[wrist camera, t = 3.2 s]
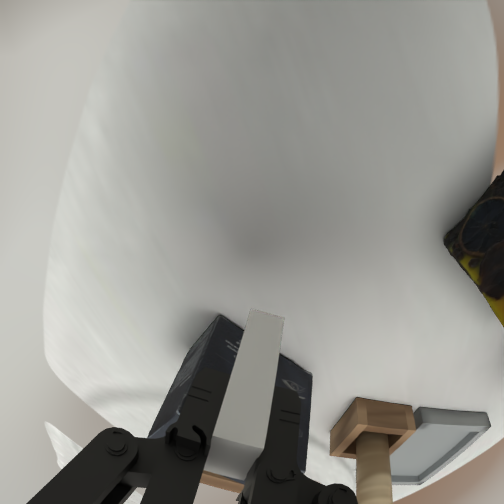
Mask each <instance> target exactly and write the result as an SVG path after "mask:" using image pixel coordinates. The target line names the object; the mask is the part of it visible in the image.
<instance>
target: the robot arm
mask: <svg viewBox="0 0 504 504" xmlns="http://www.w3.org/2000/svg"><path fill="white" fill-rule="evenodd" d="M283 324H284V318H283V317H280V316H276V315H272V314H269V313H265V312H262V311H258V310H255V309H251V310H250V313H249V317H248V320H247V324H246V327H245V330H244V334H243V337H242V340H241V344H240V347H239V350H238V354H237V357H236V360H235V364H234V367H233V370H232V374H231V375H230V374H227V373H223V372H220V371H217V370H214V369H210V368H207V367H205V368H204V369H203V370H202V371H200V372H199V373H198V374H197V375H196V377H195V379H194V382H193V384H192V387H191V389H190V391H189V394H188V396H187V398H186V401H185V403H184V406H183V408H182V411H181V413H180V415H179V418H178V420H177V422H175V423H173V424H171V425H170V426H169V427H168V429H167V430H166V433H165V436H164V437H161V438H157V439H149V438H138V437H134V436H133V435H132V434H131V433H130V432H129V431H126V430H124V429H122V428H116V427H112V428H107V429H105V430H103V431H102V432H100V433H99V434H98V435H97V436H96V437H95V438H94V439H93V440H92V441H91V442H90V443H89V444H88V445H87V446H86V447H85V448H84V449H83V450H82V451H81V452H80V453H79V454H78V455H76V456H75V457H74V458H73V459H72V460H71V461H70V462H69V463H68V464H67V465H66V466H65V467H64V468H63V469H62V470H61V471H60V472H59V473H58V474H57V475H56V476H55V477H54V478H53V479H52V480H51V481H50V482H49V483H48V484H46V486H44V487H43V488H42V489H41V490H40V491H39V492H38V493H37V494H36V495H35V496H34V497H33V498H32V499H31V500H30V501H29V502H28V503H27V504H123V503H124V502H125V501H126V500H127V499H128V497H129V496H130V495H131V494H132V493H133V492H134V490H135V489H136V488H137V487H141V488H146V491H145V493H144V496H143V498H142V500H141V503H140V504H193V502H194V499H195V495H196V492H197V489H198V486H199V483H200V479H201V476H202V473H203V470H205V471H209V472H212V473H216V474H219V475H223V476H227V477H231V478H235V479H239V480H245V478H246V480H245V485H244V488H243V490H242V491H241V493H240V494H239V495H238V497H237V499H236V501H239V502H238V504H358V501H357V498H356V496H355V493H354V492H353V491H352V490H351V489H350V488H349V487H348V486H345V485H343V484H331V485H328V486H325V485H323V484H320V483H318V482H316V481H314V480H311V479H310V478H308V477H306V476H305V475H304V474H303V473H302V472H301V470H300V469H299V467H298V464H297V447H298V436H299V423H300V413H301V400H300V398H299V395H298V393H297V391H295V390H290V389H286V388H282V387H278V386H274V385H275V379H276V373H277V366H278V359H279V352H280V345H281V338H282V331H283Z"/></svg>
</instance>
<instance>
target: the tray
mask: <svg viewBox="0 0 504 504" xmlns="http://www.w3.org/2000/svg"><path fill="white" fill-rule="evenodd" d="M413 415H414V420H415V426H416V432H415V433H413V434H412V435H411V436H410V437H409V438H408V439H407V440H406V441H405V442H404V443H403V444H402V445H401V446H400V447H399V448H398V449H397V450H396V451H394V452H393V453H392V454H391V455H390V467H391V482H392V485H421V484H422V483H424V482H425V481H427V480H428V479H429V478H431V477H432V476H433V475H435V474H436V473H437V472H439V471H440V470H441V469H443V468H444V467H445V466H447V465H448V464H449V463H450V462H452V461H453V460H454V459H455V458H456V457H458V456H459V455H460V454H461V453H462V452H464V451H465V450H466V449H467V448H468V447H469V446H470V445H472V444H473V443H474V442H475V441H476V440H477V439H478V438H479V437H480V436H481V435H483V434H484V433H485V432H486V431H487V430H488V429H489V428H490V427H491V424H490V421H489V418H488V415H487V413H483V412H467V411H454V410H443V409H433V408H424V407H419V408H418V410H417V411H416V412H415V413H414V414H413ZM356 483H357V470H356Z"/></svg>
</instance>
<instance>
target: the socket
mask: <svg viewBox="0 0 504 504" xmlns="http://www.w3.org/2000/svg"><path fill="white" fill-rule="evenodd" d="M362 431H369V432H377V433H385V434H387V435H388V445H389V455H391V454H392V453H393V452H394V451H396V450H397V449H398V448H399V447H400V446H401V445H402V444H403V443H404V442H405V441H406V440H407V439H408V438H409V437H410V436H411V435H412V434H413V433H415V432H416V426H415V420H414V415H413V410H412V406H408V405H401V404H394V403H388V402H381V401H375V400H369V399H364V398H358V397H357V398H356V399H355V400H354V402H353V403H352V404H351V406H350V407H349V408H348V410H347V411H346V412H345V414H344V415H343V416H342V417H341V419H340V420H339V421H338V423H337V424H336V425H335V426H334V428H333V429H332V430H331V432H330V456H337V457H344V458H352V459H356V438H357V437H358V435H359V434H360V433H361V432H362Z"/></svg>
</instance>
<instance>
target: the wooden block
mask: <svg viewBox="0 0 504 504" xmlns="http://www.w3.org/2000/svg"><path fill="white" fill-rule="evenodd" d="M200 483H203V484H207V485H210V486H214V487H217V488H221V489H225V490H229V491H233V492H237V493H241V491H242V490H243V488H244V485H243V484H241V483H238V482H236V481H233V480H231V479H228V478H226V477H223V476H221V475H219V474H216V473H212V472H209V471H205V470H203V473H202V476H201V479H200Z"/></svg>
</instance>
